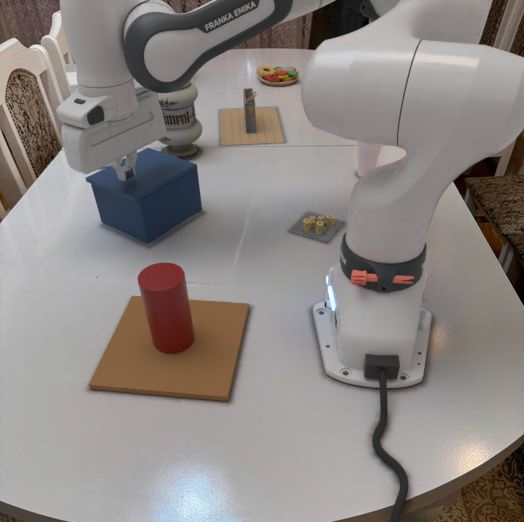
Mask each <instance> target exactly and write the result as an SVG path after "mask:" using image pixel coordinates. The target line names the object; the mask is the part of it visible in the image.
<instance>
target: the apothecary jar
mask: <svg viewBox="0 0 524 522" xmlns="http://www.w3.org/2000/svg"><path fill="white" fill-rule="evenodd" d="M157 96H158V102H159V104H160V107H161V110H162V113H163V117H164V121H165V126H166V132H165V136H164V137H163V138H161V139H159V140H157V141H158V142H159V143H161V144H163V145H166V146H164V147H163V148H162V149H161V151H160V152H163V153H166V154H168V155H171V156H174V157H177V158H180V159H183V160H186V161H189V160H192V159H195V158H196V157H198V156H199V155H200V154H201V149H200V148H199V146H198V145H196V144H195V142H196V141H198V140H199V138H200V137H201V135H202V133H203V125H202V123H201V121H200V120H199V119H198V118H197V115H196V108H195V101H196V100H197V98H198V97H199V90H198V88H197V86H196V85H195V84H194V83H193V82H192V81H191V80H190V81H189V82H188V83H187V84H186V85H184V86H183V87H182V88H180V89H179V90H177V91H174V92H171V93H157ZM193 143H194V144H193Z"/></svg>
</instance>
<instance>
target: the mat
mask: <svg viewBox="0 0 524 522" xmlns="http://www.w3.org/2000/svg"><path fill="white" fill-rule="evenodd" d="M189 304H190V310H191V316H192V322H193V329H194V335H195V339H194V342H193V344H192V345H191V346H190V347H189V348H188V349H186V350H185V351H182V352H180V353H175V354H167V353H163V352H160V351H159V350H157V349H156V348H155V347H154V345H153V341H152V337H151V333H150V329H149V325H148V321H147V317H146V312H145V308H144V304H143V300H142V296H141V295H131V297H130V299H129V302H128V303H127V305H126V308H125V310H124V312H123V313H122V315H121V317H120V319H119V321H118V324H117V326H116V327H115V330H114V332H113V334H112V335H111V338H110V340H109V343H108V344H107V346H106V348H105V350H104V352H103V353H102V356H101V358H100V360H99V362H98V364H97V367H96V368H95V370H94V372H93V375H92V376H91V378H90V381H89V382H88V388H89V389H90V390H96V391H109V392H119V393H130V394H131V393H132V394H142V395H155V396H164V397H175V398H184V399H185V398H186V399H197V400H207V401H209V400H210V401H220V402H228V401H229V398H230V394H231V389H232V386H233V381H234V377H235V373H236V369H237V362H238V359H239V355H240V350H241V345H242V340H243V336H244V333H245V329H246V323H247V319H248V314H249V310H250V303H248V302H247V303H246V302H234V301H233V302H231V301H217V300H203V299H202V300H201V299H189Z"/></svg>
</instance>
